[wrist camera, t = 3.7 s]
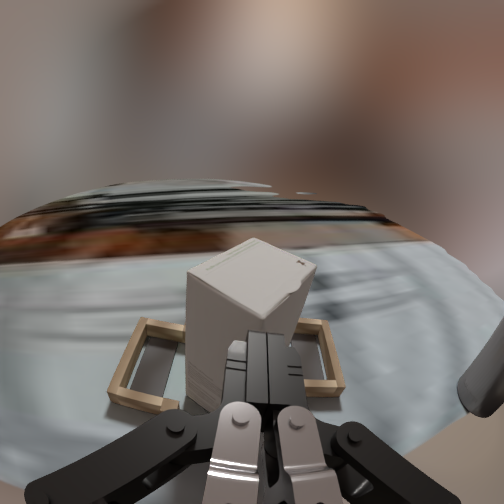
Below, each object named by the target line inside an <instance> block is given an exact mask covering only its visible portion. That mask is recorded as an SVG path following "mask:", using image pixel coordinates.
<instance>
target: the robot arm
mask: <svg viewBox="0 0 504 504" xmlns="http://www.w3.org/2000/svg"><path fill="white" fill-rule="evenodd" d="M458 394H459V397H460V399H461V401H462V403H463V405H464V406H465V407H466V408H467V409H468V410H469V411H470V412H471V413H472V414H474V415H475V416H478V417H482V418H486V417H489V416H491V415H492V414H493V413H494V412H495V411H496V410H497V409H498V408H499V407H500V406H501V405H502V404H503V403H504V317H503V319H502V320H501V322H500V323H499V325H498V327H497V328H496V330H495V331H494V333H493V334H492V336H491V337H490V339H489V340H488V342H487V343H486V345H485V346H484V348H483V349H482V350H481V352H480V353H479V355H478V356H477V357H476V359H475V360H474V361H473V362H472V364H471V365H470V366H469V368H468V369H467V370H466V371H465V373H464V374H463V375H462V376H461V377H460V379H459V381H458ZM260 432H264V442H263V444H262V447H261V451H262V461H263V472H264V482H265V492H264V497H263V504H343V502H342V497H343V498H344V499H346V500H347V501H348V502H349V503H350V504H461V501H460V500H459V498H458V497H457V496H455V495H454V494H452V493H451V492H449V491H448V490H447V489H445V488H444V487H442V486H441V485H439V484H438V483H437V482H435V481H434V480H433V479H431V478H430V477H428V476H427V475H426V474H424V473H423V472H422V471H420V470H419V469H418V468H416V467H415V466H414V465H412V464H411V463H410V462H408V461H407V460H406V459H405V458H403V457H402V456H401V455H400V454H398V453H397V452H396V451H394V450H393V449H392V448H391V447H389V446H388V445H387V444H386V443H384V442H383V441H382V440H381V439H380V438H378V437H377V436H376V435H375V434H373V433H372V432H371V431H370V430H369V429H367V428H366V427H365V426H364V425H362V424H360V423H358V422H346V423H344V424H342V425H341V426H336V425H332V424H328V423H325V422H322V421H320V420H318V419H316V418H315V417H314V415H313V414H312V413H311V412H310V411H309V409H308V405H307V399H306V391H305V384H304V378H303V371H302V364H301V357H300V355H299V354H298V352H297V351H296V349H295V348H294V347H287V346H285V337H284V334H279V333H270V332H262V331H254V330H248V332H247V336H246V340H245V342H244V341H236V340H234V341H233V343H232V344H231V345H230V347H229V348H228V353H227V359H226V365H225V370H224V379H223V389H222V397H221V405H220V406H219V408H218V409H216V410H215V411H213V412H211V413H209V414H204V415H196V416H192V415H190V414H189V413H187V412H186V411H183V410H180V409H169V410H165V411H163V412H161V413H160V414H158V415H157V416H155V417H154V418H152V419H150V420H149V421H147V422H146V423H144V424H142V425H141V426H139V427H137V428H136V429H134V430H132V431H131V432H129V433H127V434H125V435H124V436H122V437H120V438H119V439H117V440H115V441H113V442H112V443H110V444H108V445H106V446H104V447H102V448H101V449H99V450H97V451H95V452H93V453H91V454H89V455H87V456H86V457H84V458H82V459H80V460H78V461H76V462H74V463H72V464H70V465H68V466H66V467H63V468H61V469H59V470H57V471H55V472H53V473H51V474H48V475H46V476H44V477H42V478H39V479H37V480H35V481H32V482H30V483H29V484H28V485H27V486H26V488H25V492H24V497H25V501H26V504H134V503H136V502H137V501H139V500H141V499H142V498H144V497H146V496H147V495H149V494H150V493H152V492H153V491H155V490H156V489H158V488H159V487H161V486H162V485H164V484H165V483H167V482H168V481H170V480H171V479H173V478H174V477H175V476H177V475H178V474H180V473H181V472H182V471H184V470H185V469H186V468H188V467H189V466H190V465H192V464H197V463H204V462H210V466H209V471H208V476H207V481H206V486H205V491H204V496H203V501H202V504H257V495H258V485H259V474H258V472H257V461H258V451H259V440H260Z"/></svg>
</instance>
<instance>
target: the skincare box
mask: <svg viewBox="0 0 504 504" xmlns="http://www.w3.org/2000/svg"><path fill="white" fill-rule="evenodd" d="M316 268H317V265H315V264H313V263H311V262H308V261H306V260H304V259H302V258H299V257H297V256H295V255H292V254H290V253H288V252H285V251H283V250H281V249H279V248H276V247H274V246H272V245H270V244H268V243H265V242H263V241H261V240H258V239H256V238H251V239H249V240H247V241H245V242H244V243H242V244H240V245H238V246H236V247H234V248H232V249H230V250H228V251H226V252H224V253H222V254H220V255H218V256H216V257H214V258H212V259H210V260H208V261H206V262H204V263H202V264H200V265H198V266H196V267H194V268H192V269H190V270H188V271H187V289H186V328H185V374H186V395H187V396H189V397H190V398H191V399H192V400H194V401H195V402H196V403H198V404H199V405H200V406H202V407H203V408H204V409H206V410H207V411H208V412H210V413H211V412H213V411H215V410H216V409H218V408H219V406H220V405H221V397H222V389H223V379H224V370H225V365H226V359H227V353H228V348H229V347H230V345H231V344H232V343H233V341H234V340H236V341H244V342H245V340H246V336H247V332H248V330H254V331H262V332H270V333H279V334H284V337H285V346H287V347H289V344H290V342H291V339H292V336H293V334H294V331H295V328H296V326H297V323H298V320H299V317H300V315H301V312H302V309H303V306H304V304H305V301H306V298H307V295H308V292H309V289H310V286H311V283H312V280H313V277H314V274H315V271H316Z"/></svg>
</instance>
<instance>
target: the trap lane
mask: <svg viewBox="0 0 504 504" xmlns="http://www.w3.org/2000/svg"><path fill="white" fill-rule="evenodd" d="M201 264H202V263H201ZM185 328H186V321H185V325H179V324H174V323H169V322H163V321H158V320H154V319H149V318H144V317H141V318H140V320H139V322H138V324H137V326H136V328H135V330H134V332H133V334H132V336H131V338H130V340H129V343H128V345H127V347H126V349H125V351H124V353H123V355H122V358H121V360H120V362H119V364H118V367H117V369H116V371H115V373H114V376H113V378H112V380H111V382H110V385H109V387H108V390H107V393H108V396H109V398H110V400H111V402H114V403H117V404H120V405H123V406H127V407H130V408H134V409H137V410H141V411H145V412H149V413H153V414H157V415H158V414H160V413H161V412H163V411H165V410H169V409H180V407H179V401H176V400H171V399H167V398H163V394H164V390H165V387H166V383H167V380H168V376H169V373H170V369H171V366H172V362H173V359H174V355H175V352H176V349H177V345H178V342H182V343H185ZM296 333H298V334H296ZM307 334H309V335H307ZM315 335H318V339H319V343H320V348H321V352H322V357H323V361H324V366H325V371H326V375H327V380H324V375H323V371H322V366H321V361H320V356H319V352H318V347H317V342H316V338H315ZM147 336H152V337H150V339H149V341H148V344H147V346H146V349H145V351H144V354H143V356H142V359H141V361H140V364H139V367H138V369H137V372H136V374H135V377H134V380H133V382H132V385H131V388H130V389H126V387H127V385H128V382H129V379H130V377H131V374H132V372H133V369H134V367H135V364H136V362H137V359H138V357H139V354H140V352H141V350H142V347H143V345H144V342H145V340H146V338H147ZM155 337H156V338H155ZM159 338H161V339H159ZM164 339H166V340H164ZM169 340H171V341H169ZM174 341H176V342H174ZM291 347H294V348H295V349H296V351H297V352H298V354H299V355H300V357H301V364H302V371H303V378H304V384H305V391H306V397H339V396H340V395H341V393H342V392H343V390H344V389H345V387H346V386H345V382H344V378H343V374H342V371H341V367H340V363H339V359H338V356H337V352H336V349H335V345H334V341H333V338H332V334H331V331H330V327H329V324H328V321H327V320H317V319H307V318H299V320H298V323H297V326H296V328H295V331H294V334H293V336H292V339H291Z"/></svg>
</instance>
